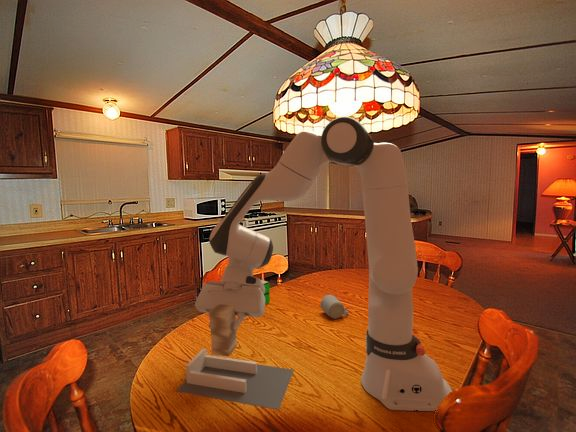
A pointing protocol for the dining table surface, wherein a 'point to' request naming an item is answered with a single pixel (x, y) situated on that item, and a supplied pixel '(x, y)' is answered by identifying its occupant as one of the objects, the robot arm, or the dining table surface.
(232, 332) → the beech block
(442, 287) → the dining table surface
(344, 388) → the dining table surface
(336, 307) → the ceramic mug
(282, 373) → the shelf lane
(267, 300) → the puzzle cube
